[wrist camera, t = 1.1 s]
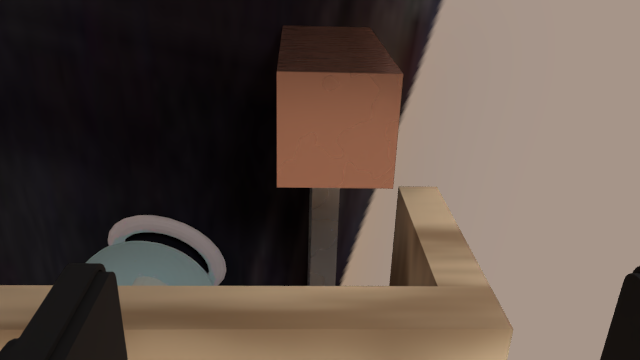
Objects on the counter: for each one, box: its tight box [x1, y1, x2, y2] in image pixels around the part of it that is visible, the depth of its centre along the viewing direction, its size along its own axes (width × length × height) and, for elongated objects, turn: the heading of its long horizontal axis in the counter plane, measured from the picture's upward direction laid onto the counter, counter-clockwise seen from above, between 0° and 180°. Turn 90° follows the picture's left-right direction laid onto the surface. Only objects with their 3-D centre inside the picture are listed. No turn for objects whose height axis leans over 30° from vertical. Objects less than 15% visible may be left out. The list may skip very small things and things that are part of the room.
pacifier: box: [86, 215, 226, 286], centre depth 28 cm, size 7×6×6 cm
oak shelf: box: [0, 187, 513, 360], centre depth 26 cm, size 11×21×12 cm, turn 88°
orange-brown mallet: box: [277, 25, 403, 286], centre depth 26 cm, size 20×4×9 cm, turn 178°
